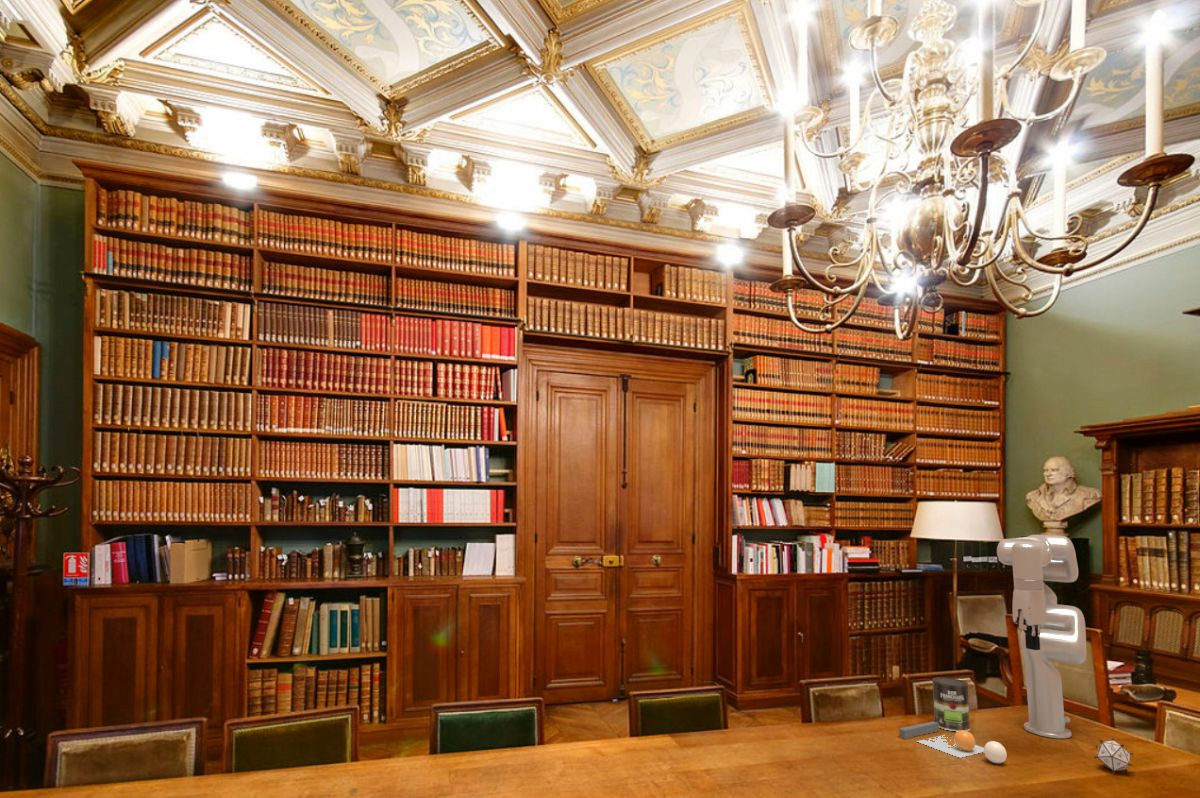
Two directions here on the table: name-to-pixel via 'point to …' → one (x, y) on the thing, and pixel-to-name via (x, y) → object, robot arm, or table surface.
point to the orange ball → (964, 740)
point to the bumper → (918, 729)
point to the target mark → (952, 751)
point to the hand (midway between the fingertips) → (1033, 649)
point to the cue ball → (995, 752)
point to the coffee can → (951, 704)
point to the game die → (1113, 755)
